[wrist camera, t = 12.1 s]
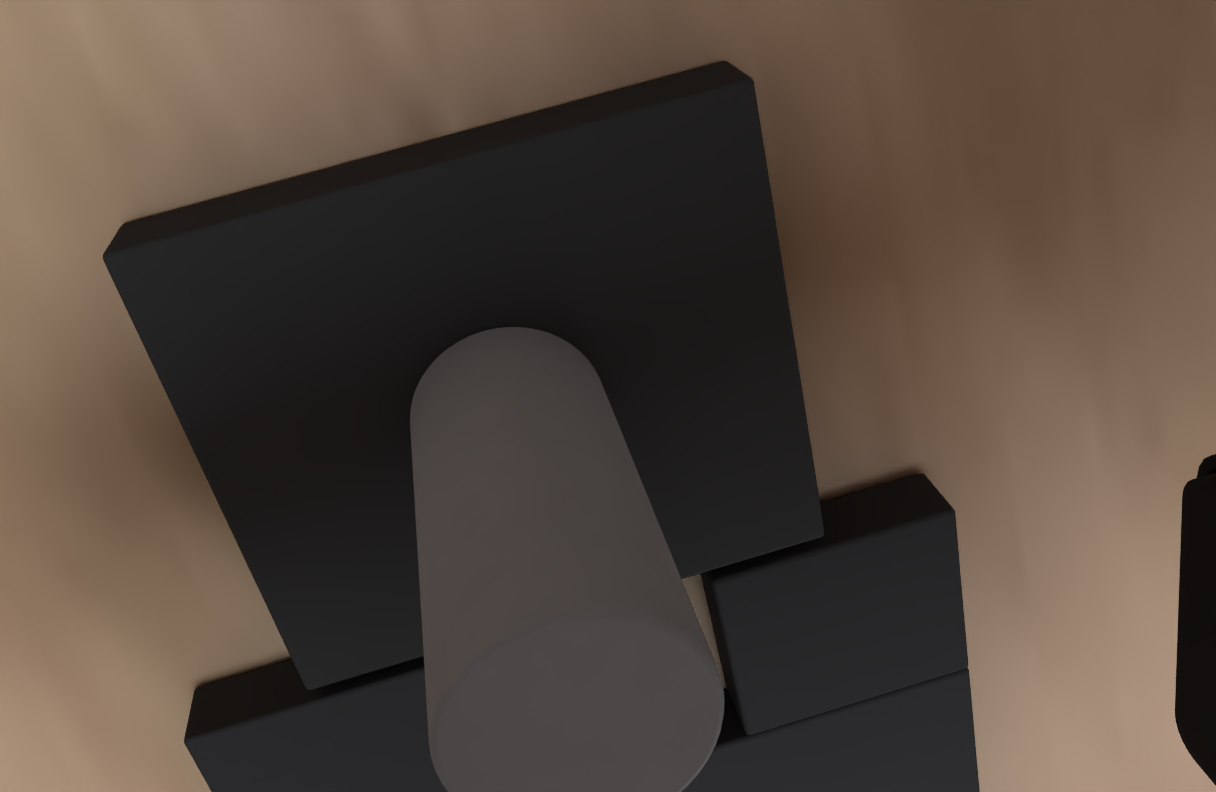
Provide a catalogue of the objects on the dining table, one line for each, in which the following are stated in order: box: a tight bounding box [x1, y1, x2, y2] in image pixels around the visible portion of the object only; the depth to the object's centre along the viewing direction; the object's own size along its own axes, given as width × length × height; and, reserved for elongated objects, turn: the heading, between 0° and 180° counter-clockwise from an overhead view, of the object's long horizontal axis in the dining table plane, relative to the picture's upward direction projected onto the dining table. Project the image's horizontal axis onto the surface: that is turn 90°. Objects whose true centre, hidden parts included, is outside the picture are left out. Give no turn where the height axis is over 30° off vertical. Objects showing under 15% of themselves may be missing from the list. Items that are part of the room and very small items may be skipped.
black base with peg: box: [103, 61, 824, 792], centre depth 14 cm, size 8×10×7 cm
